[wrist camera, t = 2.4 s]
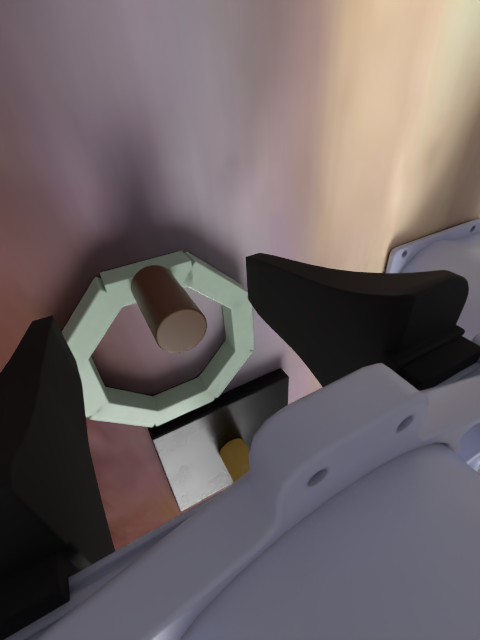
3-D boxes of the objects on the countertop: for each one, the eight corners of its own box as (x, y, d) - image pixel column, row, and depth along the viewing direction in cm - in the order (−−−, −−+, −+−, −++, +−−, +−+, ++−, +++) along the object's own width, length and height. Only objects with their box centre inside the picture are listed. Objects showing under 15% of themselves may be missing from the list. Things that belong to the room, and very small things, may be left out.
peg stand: (280, 367, 23) (346, 440, 18) (279, 444, 28) (328, 514, 24) (147, 427, 20) (184, 534, 15) (176, 500, 25) (209, 594, 21)
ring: (246, 370, 21) (289, 425, 18) (100, 433, 18) (118, 515, 15) (236, 228, 15) (296, 270, 12) (20, 285, 12) (16, 363, 9)
